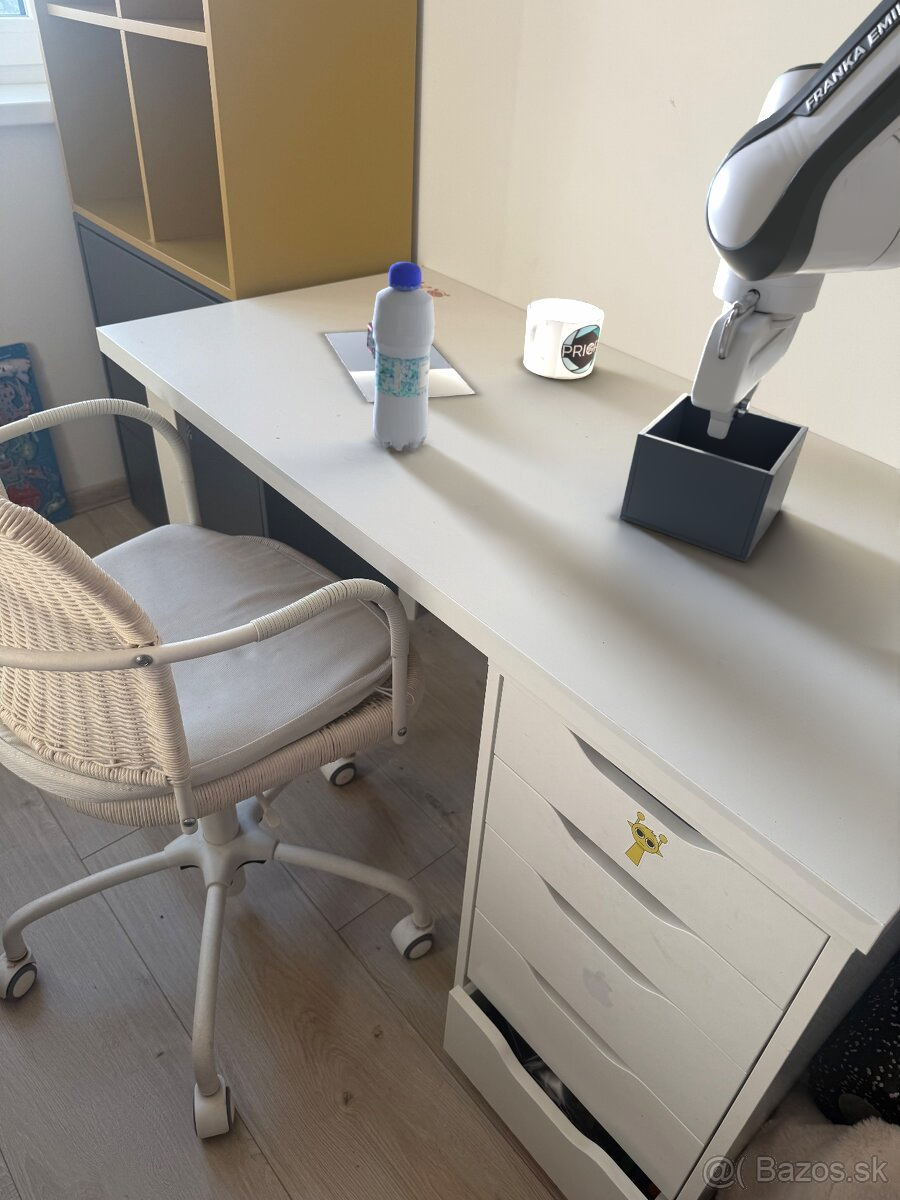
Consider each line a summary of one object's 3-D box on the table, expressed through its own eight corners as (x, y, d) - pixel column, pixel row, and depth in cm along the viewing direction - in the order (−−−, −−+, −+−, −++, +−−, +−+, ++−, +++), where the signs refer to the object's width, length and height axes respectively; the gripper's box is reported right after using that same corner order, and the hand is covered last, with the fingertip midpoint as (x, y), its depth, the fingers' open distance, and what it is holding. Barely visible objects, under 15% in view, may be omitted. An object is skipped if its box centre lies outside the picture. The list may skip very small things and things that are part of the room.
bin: (780, 508, 89) (809, 427, 84) (744, 562, 80) (774, 475, 74) (664, 471, 94) (684, 392, 89) (619, 518, 85) (637, 433, 80)
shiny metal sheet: (368, 402, 104) (368, 369, 102) (324, 333, 123) (324, 305, 120) (475, 393, 109) (478, 362, 106) (417, 329, 127) (419, 301, 125)
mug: (548, 347, 125) (556, 292, 120) (608, 368, 119) (618, 311, 115) (493, 369, 116) (499, 311, 111) (555, 392, 111) (564, 332, 106)
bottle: (427, 457, 93) (437, 274, 81) (368, 453, 93) (369, 269, 81) (430, 431, 99) (439, 256, 87) (373, 427, 99) (375, 251, 87)
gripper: (772, 315, 64) (726, 473, 73) (830, 264, 79) (785, 401, 87) (695, 297, 67) (658, 452, 75) (764, 251, 81) (727, 386, 89)
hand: (727, 424), depth 81 cm, fingers open, 5 cm apart
